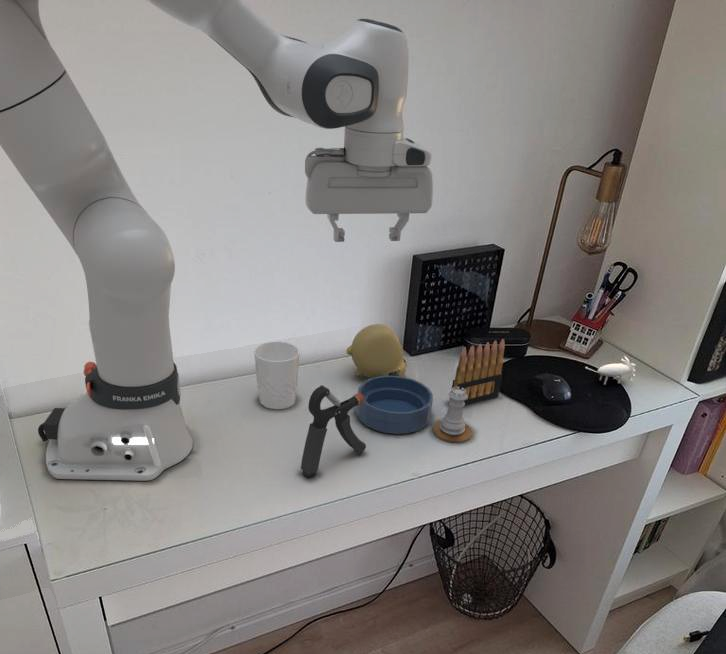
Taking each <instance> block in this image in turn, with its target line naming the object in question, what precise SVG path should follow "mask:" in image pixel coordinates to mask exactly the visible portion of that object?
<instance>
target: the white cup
mask: <svg viewBox="0 0 726 654" xmlns="http://www.w3.org/2000/svg"><path fill="white" fill-rule="evenodd" d="M253 352H254V353H253V354H254V363H255V365H254V367H255V376H256V377H255V378H256V385H257V391H258V400H259V403H260V405H262V406H264V408H267V409H269V410H285V409H289V408H290V407H292V406H294V405H295V404H296V401H297V389H298V380H299V365H300V364H299V363H300V349H299V348H298V347H297V346H296V345H294V344H292V343H289V342H285V341H269V342H268V341H267V342H263V343H261V344H259V345H257V346H256V347H254V351H253Z"/></svg>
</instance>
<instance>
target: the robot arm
mask: <svg viewBox="0 0 726 654" xmlns="http://www.w3.org/2000/svg"><path fill="white" fill-rule="evenodd" d="M147 2H149V3H150V4H151V5H153V6H155V7H156V8H158V9H159V10H161V11H162V12H164V13H165V14H167V15H169V16H170V17H172V18H173V19H175V20H177V21H178V22H179V21H180V22H181V23H183V24H185V25H187V26H189V27H191V28H195V29H196V30H198V31H200V32H202V33H204V34H206V35H207V36H208V37H209V38H211V40H213V41H214V42H215V43H216V44H218V45H219V46H220V47H221V48H222V49H223V50H224V51H225V52H227V53H228V54H230V56H231V57H232V58H234V59H235V60H236V61H237V62H238V63H239V64H240V65H242V66H243V67H244V68H245V69H246V70H247V71H248V72H249V73H250V75H251V76H252V77H253V78H254V81H255V83H256V84H257V86H258V88H259V90H260V92H261V94H262V96H263V97H264V99H265V101H266V102H267V103H268V105H269V106H270V107H271V108H272V109H273V110H274V111H276V112H277V113H278V114H280V115H283V116H285V117H290V118H293V119H297V120H300V121H302V122H304V123H307V124H309V125H312V126H314V127H317V128H320V129H324V130H332V129H334V130H335V129H340V128H344V133H343V134H344V135H343V136H344V137H343V147H331V148H324V147H316V148H315V149H314V150H312V151H310V152H309V153H308V154H307V155H306V157H305V160H304V172H305V173H304V174H305V176H306V178H307V182H306V188H305V198H304V199H305V201H304V202H305V206H306V207H307V209H308V210H309V211H310V212H311V214H313V215H327V216H326V217H327V219H328V221H329V224H330V225H331V228H332V229H333V234H332V235H333V236H332V237H333V241H334V243H344V242H345V235H346V231H345V230H344V228H343V227H339V226H338V224H337V223H336V222H338V221H339V215H358V214H359V215H371V214H373V215H378V214H380V215H381V214H382V215H383V214H386V215H387V214H391V215H392V214H394V215H395V214H396V217H398V220H397V222H396V223H395V224H394V226H392V227H389V228H388V229H389V231H388V233H389V234H388V239H389V240H390V241H391V242H400V241H401V235H402V231H403V229H404V228H405V227H406V225H407V223H408V222H409V220H410V214H427V213H428V212H429V211H430V210H431V208H432V206H433V199H434V175H433V172H432V170H431V168H429V166H430V165H431V163H432V156H433V155H432V153H431V151H430V150H429V149H428V148H427V147H425V146H424V145H422V144H421V143H418V142H416V141H414V140H412V139H410V138H408V137H404V126H405V125H404V120H403V109H404V105H405V103H406V100H407V96H408V95H407V94H408V82H409V47H408V46H409V44H408V39H407V36H406V34H405V33H404V32H403V30H402V29H401V28H399V27H397V26H395V25H392V24H389V23H386V22H383V21H378V20H375V19H370V18H358V19H356V20H355V21H354V22H353V24H352V26H350V28H348V29H347V30H346V31H345V32H344V33H342V34H340V36H338V37H336V38H335V39H333V40H331V41H329V42H327V43H324V44H322V45H321V46H319V45H315V44H311V43H309V42H306V41H303V40H301V39H298V38H295V37H291V36H287V35H283V34H281V33H279V32H277V30H275V29H274V28H273V27H272V26H271V25H269V23H268V22H266V20H265V19H263V17H261V16H260V15H259V14H258V12H256V11H255V10H254V9H253V8H252V7H251V6H250V5H249V4H248V3H247V2H246V1H245V0H147ZM39 5H40V0H0V147H1V149H2V150H3V151H4V153H5V155H6V156H7V157H8V159H9V160H10V162H11V163H12V164H13V166H14V167H15V169H16V170H17V171H18V173H19V174H20V176H21V177H22V179H23V180H24V181H25V183H26V184H27V186H29V189H30V190H31V191H32V192H33V194H34V195H35V197H36V198H37V199H38V201H39V202H40V203H41V205H42V206H43V208H44V209H45V211H46V212H47V214H48V215H49V217H50V218H51V219H52V220H53V222H54V223H55V225H56V226H57V227H58V229H59V230H60V232H61V233H62V235H63V236H64V237H65V239H66V241H67V242H68V244H69V245H70V247H71V248H72V250H73V252H74V253H75V254H76V256H77V257H78V259H79V263H80V264H81V268H82V270H83V273H84V277H85V282H86V289H87V290H86V292H87V299H88V313H89V314H88V315H89V316H88V317H89V320H88V329H89V333H90V338H91V343H92V349H93V354H94V359H95V362H94V361H88V362H86V363H85V364H84V365H83V366H84V367H83V375H84V376H85V378H84V383H85V389H86V392H85V393H83V395H81V396H79V397H78V398H77V399H76V400H74V401H73V402H72V403H70V404H69V405H68V406H66V407H65V408H61V407H54V408H53V409H52V411H51V412H50V414H49V415H48V417H46V419H45V420H44V422H42V423H41V424H40V425H39V426H38V428H37V433H38V436H39V437H40V439H41V441H42V442H43V443H44V442H45V443H46V442H47V441H49V442H48V444H47V447H46V452H45V463H46V464H45V465H46V469H47V471H48V473H49V474H50V475H51V477H52V478H54V479H58V480H93V481H137V482H139V481H143V482H144V481H146V482H149V481H152V480H154V479H156V478H158V476H160V475H161V474H162V473H163V472H164V471H165V470H166V469H169V468H171V467H173V466H175V465H177V464H178V463H180V462H182V461H183V460H184V459H185V458H187V457H188V455H189V454H190V453H191V452H192V449H193V447H194V440H193V437H192V435H191V433H190V431H189V429H188V426H187V424H186V420H185V418H184V417H185V416H184V414H183V411H182V407H181V396H182V393H181V382H180V374H179V372H178V367H177V364H176V363H175V362H174V356H173V346H172V345H173V344H172V336H171V328H170V326H171V325H170V304H171V294H172V283H173V280H174V277H175V271H176V262H175V257H174V253H173V250H172V246H171V243H170V241H169V239H168V236H167V234H166V232H165V231H164V229H162V227H161V226H160V225H159V224H158V223H157V222H156V221H155V219H154V218H152V216H151V215H150V214H149V213H148V212H147V211H146V209H145V208H144V207H143V206H142V204H141V203H140V202H139V200H138V199H137V198H136V196H135V194H134V193H133V190H131V187H130V185H129V184H128V182H127V179H126V178H125V175H123V172H122V171H121V168H120V167H119V164H118V162H117V161H116V159H115V156H114V154H113V153H112V150H111V149H110V146H109V144H108V141H107V139H106V137H105V135H104V134H103V132H102V130H101V128H100V126H99V125H98V123H97V122H96V120H95V118H94V116H93V114H92V112H91V111H90V110H89V107H88V106H87V104H86V102H85V100H84V99H83V97H82V95H81V93H80V92H79V90H78V89H77V87H76V85H75V83H74V82H73V80H72V78H71V76H70V75H69V73H68V72H67V70H66V68H65V66H64V64H63V63H62V61H61V59H60V57H59V56H58V54H57V53H56V51H55V50H54V48H53V46H52V45H51V43H50V41H49V39H48V36H47V34H46V32H45V30H44V26H43V23H42V21H41V16H40V11H39V10H40V8H39Z"/></svg>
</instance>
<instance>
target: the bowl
mask: <svg viewBox="0 0 726 654" xmlns="http://www.w3.org/2000/svg"><path fill="white" fill-rule="evenodd" d="M357 393H361V394H362V395H363V397H364V402H363V403H362V404H360V405H357V406H356V416H357V418H358V420H359V421H360V422H361V423H362V424H363V425H364V426H366V427H368V428H370V429H372V430H373V431H377V432H380V433H385V434H392V435H393V434H395V435H402V434H412V433H415V432H418V431H421V430H422V429H424V428H425V427H427V426H428V424H429V422H430V421H431V415H432V410H433V409H432V408H433V403H434V398H433V397H434V396H433V393H432V391H431V389H430V388H429V387H428V386H426V385H425V384H424V383H422V382H420V381H418V380H416V379H413V378H410V377H405V376H379V377H375V378H369V379H366V380H365V381H363V382H362V383H361V384H360V385H359V386H358V389H357Z"/></svg>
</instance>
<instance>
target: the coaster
mask: <svg viewBox="0 0 726 654" xmlns="http://www.w3.org/2000/svg"><path fill="white" fill-rule="evenodd" d="M441 421H442V420H439V421H437V422H436V423H434V425H433V426H432V433H433V435H434V436H435V437H437V438H438V439H439V440H441V441H444V442H446V443H454V444H460V443H464V442H467V441H469V440H470V439H472V437H473V430H472V428H471V427H470V426H469V425H468V424H467V423H465V431H464V432H463V433H462V434H460V435H457V436H451V435H447V434H445V433H444V432H443V431H442V430H441V428H440V425H441Z"/></svg>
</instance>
